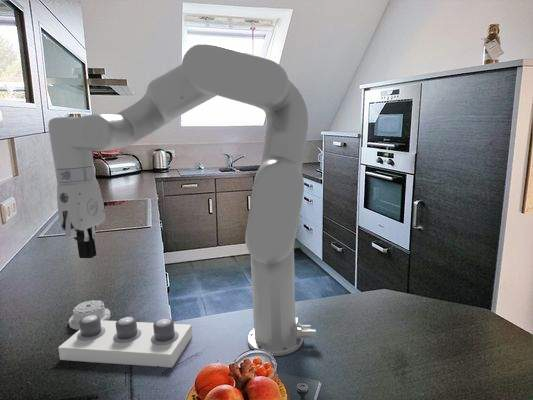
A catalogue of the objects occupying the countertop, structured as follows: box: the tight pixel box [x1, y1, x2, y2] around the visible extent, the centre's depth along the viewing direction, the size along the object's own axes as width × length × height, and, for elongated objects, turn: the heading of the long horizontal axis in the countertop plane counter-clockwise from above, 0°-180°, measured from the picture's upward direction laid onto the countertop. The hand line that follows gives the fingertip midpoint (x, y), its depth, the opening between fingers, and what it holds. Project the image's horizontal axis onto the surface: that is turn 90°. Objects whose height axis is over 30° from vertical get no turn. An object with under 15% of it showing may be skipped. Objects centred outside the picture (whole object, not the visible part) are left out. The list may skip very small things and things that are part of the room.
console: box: [58, 320, 193, 368], centre depth 87 cm, size 26×12×3 cm, turn 81°
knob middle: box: [116, 316, 138, 339], centre depth 87 cm, size 4×4×3 cm
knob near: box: [153, 318, 175, 341], centre depth 85 cm, size 4×4×3 cm
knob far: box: [79, 315, 102, 337], centre depth 88 cm, size 4×4×3 cm
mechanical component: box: [68, 299, 111, 331], centre depth 101 cm, size 10×4×10 cm
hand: (88, 256), depth 86 cm, fingers closed
